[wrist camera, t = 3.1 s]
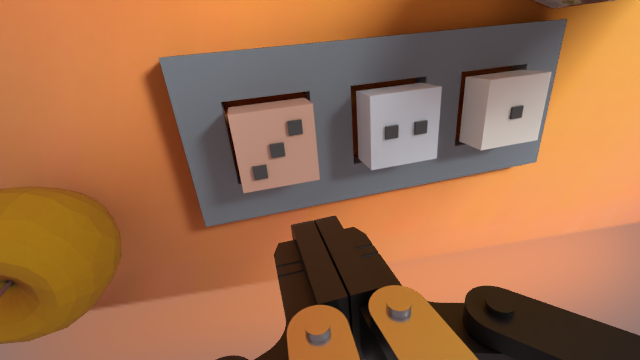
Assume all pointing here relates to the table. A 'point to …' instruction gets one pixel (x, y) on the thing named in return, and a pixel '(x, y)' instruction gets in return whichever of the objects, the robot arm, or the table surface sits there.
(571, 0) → the coffee box
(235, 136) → the tile three
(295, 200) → the button board
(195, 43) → the table surface
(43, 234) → the apple
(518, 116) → the tile one
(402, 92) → the tile two
